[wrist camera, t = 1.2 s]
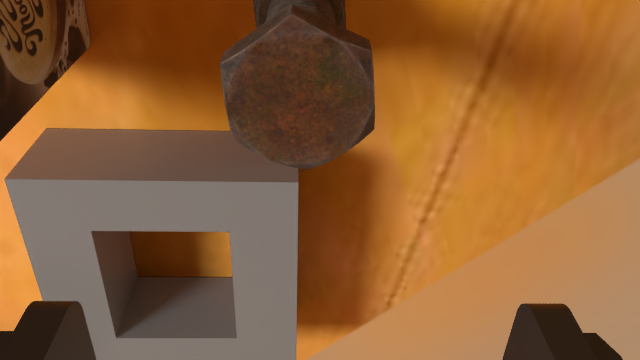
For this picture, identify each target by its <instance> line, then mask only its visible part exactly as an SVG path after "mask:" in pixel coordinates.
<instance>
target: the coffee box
mask: <svg viewBox="0 0 640 360" xmlns="http://www.w3.org/2000/svg"><path fill="white" fill-rule="evenodd" d="M89 46H90V36H89V30H88V24H87V17H86V11H85V4H84V0H0V141H1V140H2V139H3V138H4V137H5V136H6V135H7V133H8V132H9V131H10V130H11V129H12V128H13V127H14V126H15V125H16V124H17V123H18V122H19V121H20V120H21V119H22V117H23V116H24V115H25V114H26V113H27V112H28V111H29V110H30V109H31V108H32V107H33V106H34V105H35V104H36V103H37V102H38V101H39V100H40V98H42V96H43V95H44V94H45V93H46V92H47V91H48V90H49V89H50V88H51V87H52V86H53V84H54V83H55V82H56V81H57V80H59V79H60V77H61V76H62V75H63V74H64V73H65V72H66V71H67V70H68V69H69V68H70V66H71V65H72V64H73V63H74V62H75V61H76V60H77V59H78V58H79V57H80V56H81V55H82V54H83V53H84V52H85V51H86V50H87V49H88V48H89Z"/></svg>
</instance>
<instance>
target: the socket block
mask: <svg viewBox="0 0 640 360" xmlns="http://www.w3.org/2000/svg"><path fill="white" fill-rule="evenodd" d="M298 182H299V168H294V167H290V166H286V165H282V164H279V163H276V162H273V161H271V160H268V159H266V158H263V157H261V156H259V155H257V154H255V153H253V152H251V151H250V150H248V149H246V148H245V147H243V146H242V145H240V144H239V143H237V142H235V141H234V139H233V136H232V133H231V131H189V130H122V129H56V128H46V129H45V130H44V132H43V133H42V134H41V135H40V137H39V138H38V139H37V140H36V141H35V143H34V144H33V145H32V146H31V148H30V149H29V150H28V151H27V152H26V154H25V155H24V156H23V157H22V158H21V160H20V161H19V162H18V163H17V165H16V166H15V167H14V168H13V169H12V171H11V172H10V173H9V174H8V175H7V177H6V178H5V183H6V186H7V189H8V192H9V195H10V198H11V201H12V205H13V208H14V211H15V214H16V217H17V220H18V223H19V227H20V230H21V233H22V236H23V239H24V242H25V246H26V249H27V252H28V255H29V258H30V261H31V264H32V268H33V271H34V274H35V277H36V280H37V283H38V286H39V290H40V293H41V296H42V299H43V301H78V302H79V303H80V304H81V306H82V308H83V312H84V315H85V319H86V323H87V326H88V330H89V334H90V337H91V341H92V345H93V349H94V352H95V356H96V360H296V336H297V259H298ZM129 231H170V232H230V246H231V260H232V275H233V277H138V274H137V269H136V264H135V258H134V253H133V248H132V242H131V237H130V232H129Z"/></svg>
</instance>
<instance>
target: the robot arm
mask: <svg viewBox="0 0 640 360" xmlns="http://www.w3.org/2000/svg"><path fill="white" fill-rule="evenodd" d="M0 360H96V356H95V352H94V349H93V345H92V341H91V337H90V334H89V330H88V326H87V323H86V319H85V315H84V312H83V308H82V306H81V304H80V303H79V302H78V301H34V302H32V303H31V304H30V305H29V306H28V307H27V309H26V310H25V312H24V314H23V315H22V317H21V319H20V321H19V323H18V324H17V326H16V328H15V330H14V331H0ZM503 360H623V359H622V358H621V356H620V355H619V354H618V353H617V352H616V351H615V350H614V349H612V348H611V347H610V346H609V345H608V344H607V343H606V342H605V341H604V340H603V339H602V338H600V337H599V336H598V335H597V334H596V333H582V331H581V329H580V327H579V325H578V323H577V322H576V320H575V318H574V316H573V315H572V312H571V311H570V309H569V308H568V307H567V306H566V305H564V304H521V305H520V307H519V308H518V310H517V313H516V316H515V320H514V323H513V326H512V329H511V333H510V336H509V339H508V343H507V346H506V349H505V353H504V356H503Z"/></svg>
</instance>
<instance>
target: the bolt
mask: <svg viewBox="0 0 640 360" xmlns="http://www.w3.org/2000/svg"><path fill="white" fill-rule="evenodd" d="M253 1H254V11H255V18H256V26H257V29H255V30H254V31H253V32H251V33H250V34H248V35H247V36H245V37H244V38H243V39H241V40H240V41H238V42H237V43H236V44H234V45H233V46H231V47H230V48H229V49H227V50H226V51H224V53H223V56H222V59H221V62H220V68H221V78H222V87H223V94H224V101H225V106H226V110H227V115H228V120H229V125H230V130H231V133H232V136H233V139H234V141H235V142H237V143H239V144H240V145H242V146H243V147H245V148H246V149H248V150H250V151H251V152H253V153H255V154H257V155H259V156H261V157H263V158H266V159H268V160H271V161H273V162H276V163H279V164H282V165H286V166H290V167H294V168H301V169H310V168H313V167H316V166H319V165H322V164H324V163H327V162H329V161H331V160H333V159H335V158H337V157H338V156H340V155H341V154H343V153H345V152H346V151H348V150H349V149H351V148H352V147H353V146H355V145H356V144H358V143H359V142H360V141H361V140H363V139H364V138H365V137H366V136H367V135H368V134H369V133H370V132H372V131H373V130H374V122H375V104H374V71H373V58H372V49H371V46H370V42H369V40H368V39H366V38H364V37H362V36H360V35H357V34H355V33H353V32H351V31H349V30H347V29H346V18H345V0H253Z"/></svg>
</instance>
